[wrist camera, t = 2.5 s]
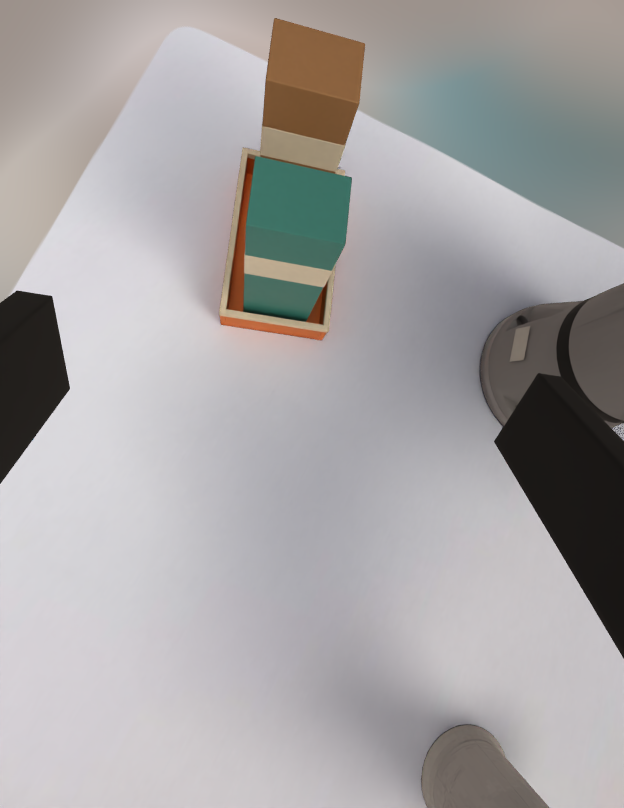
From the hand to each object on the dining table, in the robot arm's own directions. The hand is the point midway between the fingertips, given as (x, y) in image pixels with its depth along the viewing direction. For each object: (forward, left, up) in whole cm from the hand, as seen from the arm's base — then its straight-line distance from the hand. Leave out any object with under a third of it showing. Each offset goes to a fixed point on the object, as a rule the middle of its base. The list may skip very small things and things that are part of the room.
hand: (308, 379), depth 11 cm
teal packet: (0, -13, -27) cm, 30 cm away
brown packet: (0, -23, -27) cm, 36 cm away
